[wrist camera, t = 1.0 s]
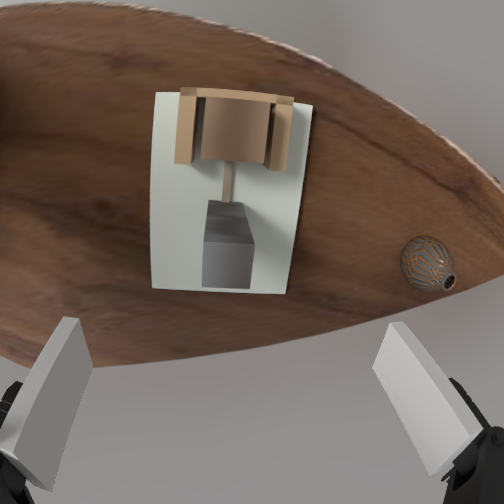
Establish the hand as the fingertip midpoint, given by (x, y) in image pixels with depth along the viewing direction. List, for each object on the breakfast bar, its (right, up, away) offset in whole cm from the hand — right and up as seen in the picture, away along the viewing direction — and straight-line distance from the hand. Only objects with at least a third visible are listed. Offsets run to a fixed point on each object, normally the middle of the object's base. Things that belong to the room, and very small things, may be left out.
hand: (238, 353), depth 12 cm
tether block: (-2, +12, +19) cm, 22 cm away
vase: (+23, +4, +26) cm, 35 cm away
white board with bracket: (-2, +10, +21) cm, 23 cm away
